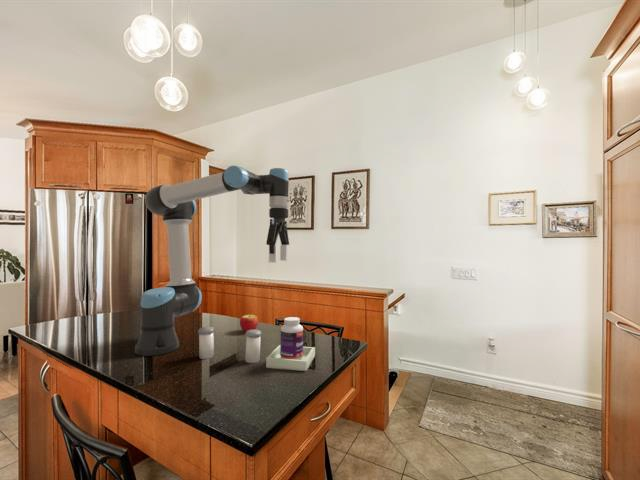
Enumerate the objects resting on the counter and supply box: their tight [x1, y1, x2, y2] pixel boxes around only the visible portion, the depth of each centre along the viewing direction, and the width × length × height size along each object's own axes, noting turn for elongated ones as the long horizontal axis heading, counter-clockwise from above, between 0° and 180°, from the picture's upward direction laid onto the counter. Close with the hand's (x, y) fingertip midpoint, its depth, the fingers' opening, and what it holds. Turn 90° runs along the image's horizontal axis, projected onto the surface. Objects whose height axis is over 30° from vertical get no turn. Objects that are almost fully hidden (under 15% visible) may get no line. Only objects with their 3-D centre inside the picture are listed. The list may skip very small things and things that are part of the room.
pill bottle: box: [280, 316, 304, 360], centre depth 109 cm, size 8×8×14 cm
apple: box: [239, 309, 259, 333], centre depth 145 cm, size 8×8×10 cm
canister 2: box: [244, 329, 262, 364], centre depth 110 cm, size 5×5×10 cm
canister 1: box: [197, 326, 215, 360], centre depth 113 cm, size 5×5×10 cm
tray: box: [265, 344, 316, 372], centre depth 109 cm, size 14×14×3 cm
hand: (278, 261), depth 122 cm, fingers open, 13 cm apart
